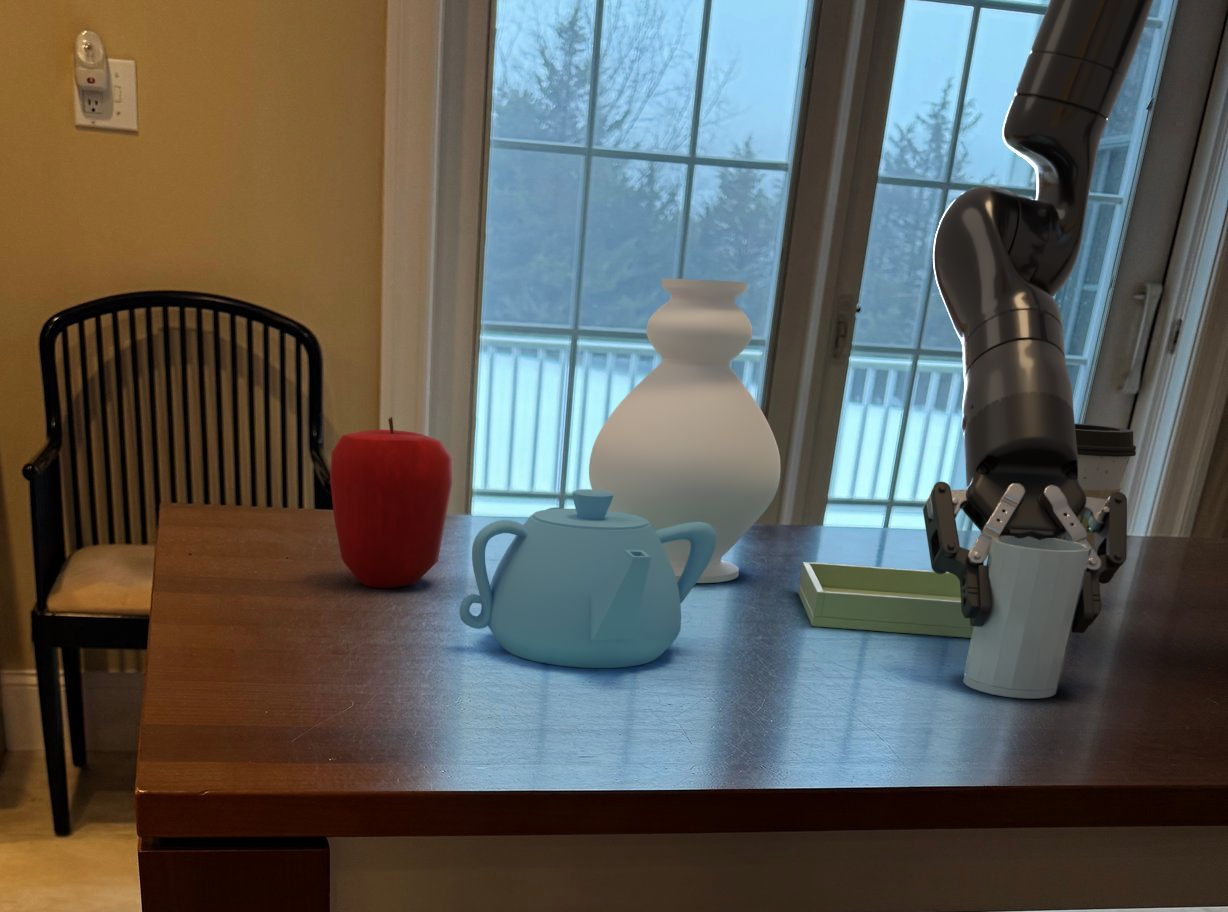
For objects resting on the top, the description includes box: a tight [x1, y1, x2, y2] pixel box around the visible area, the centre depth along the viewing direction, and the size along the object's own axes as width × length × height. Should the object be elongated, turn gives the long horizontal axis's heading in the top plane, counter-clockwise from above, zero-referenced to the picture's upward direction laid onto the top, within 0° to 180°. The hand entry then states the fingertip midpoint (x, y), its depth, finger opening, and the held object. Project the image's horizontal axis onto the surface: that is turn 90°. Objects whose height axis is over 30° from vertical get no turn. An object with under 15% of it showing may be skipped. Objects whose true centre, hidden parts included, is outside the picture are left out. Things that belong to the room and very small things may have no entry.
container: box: [962, 535, 1092, 700], centre depth 98 cm, size 6×6×10 cm
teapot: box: [459, 488, 717, 669], centre depth 102 cm, size 15×17×11 cm
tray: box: [797, 561, 974, 639], centre depth 120 cm, size 17×14×3 cm
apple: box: [329, 416, 453, 589], centre depth 120 cm, size 10×10×14 cm
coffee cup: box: [1060, 423, 1137, 551], centre depth 129 cm, size 10×10×15 cm
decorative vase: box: [588, 277, 781, 584], centre depth 129 cm, size 18×18×25 cm
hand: (1032, 623), depth 97 cm, fingers closed on container, 6 cm apart
